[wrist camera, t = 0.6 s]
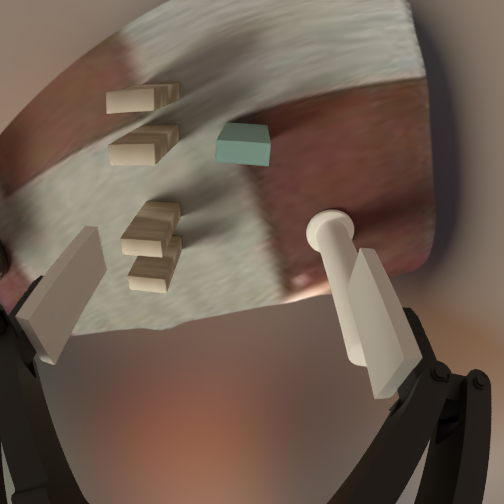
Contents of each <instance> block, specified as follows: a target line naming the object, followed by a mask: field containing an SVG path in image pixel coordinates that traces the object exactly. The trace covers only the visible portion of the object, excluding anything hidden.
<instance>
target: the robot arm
mask: <svg viewBox="0 0 504 504" xmlns="http://www.w3.org/2000/svg"><path fill="white" fill-rule="evenodd" d="M7 270H8V261H7V256H6V253H5V250H4V248H3V246H2V244H1V242H0V280H1V279H2V278H3V277H4V275H5V274H6V273H7ZM106 271H107V268H106V264H105V260H104V255H103V251H102V246H101V242H100V237H99V232H98V227H91V226H85V227H84V228H83V229H82V231H81V232H80V233H79V234H78V235H77V236H76V237H75V239H74V240H73V241H72V242H71V243H70V244H69V246H68V247H67V248H66V249H65V250H64V252H63V253H62V254H61V255H60V257H59V258H58V259H57V260H56V261H55V263H54V264H53V265H52V266H51V268H50V269H49V270H48V272H47V273H46V274H45V275H44V276H40V277H39V278H37V279H36V280H35V281H33V282H32V284H31V285H30V286H29V288H28V289H27V291H26V292H25V293H24V295H23V297H21V299H20V300H19V301H18V303H17V304H16V306H15V307H14V309H13V310H12V311H11V313H10V314H9V316H8V315H7V313H6V312H5V310H4V308H3V306H2V305H1V304H0V504H7V498H6V491H5V484H4V477H3V467H2V454H1V442H2V446H3V450H4V454H5V458H6V461H7V465H8V468H9V471H10V474H11V477H12V481H13V483H14V487H15V493H14V494H13V495H12V497H11V501H12V504H89V503H88V502H87V501H86V499H85V498H84V496H83V494H82V492H81V490H80V489H79V486H78V484H77V482H76V480H75V478H74V476H73V474H72V471H71V469H70V467H69V464H68V462H67V460H66V457H65V455H64V452H63V450H62V447H61V445H60V442H59V439H58V437H57V434H56V431H55V428H54V425H53V422H52V419H51V416H50V413H49V410H48V407H47V403H46V400H45V396H44V393H43V389H42V385H41V382H40V377H39V373H38V369H37V364H36V362H35V360H34V356H35V354H36V353H37V354H38V356H39V357H40V359H41V360H42V361H44V362H47V363H50V364H53V365H55V363H56V361H57V359H58V357H59V355H60V353H61V351H62V349H63V347H64V345H65V343H66V342H67V339H68V338H69V336H70V334H71V332H72V330H73V328H74V326H75V324H76V323H77V321H78V319H79V317H80V315H81V313H82V312H83V310H84V308H85V306H86V305H87V303H88V301H89V299H90V298H91V296H92V294H93V293H94V291H95V289H96V287H97V286H98V284H99V282H100V281H101V279H102V277H103V276H104V274H105V273H106ZM346 292H347V295H348V299H349V302H350V305H351V309H352V312H353V316H354V319H355V323H356V326H357V330H358V334H359V337H360V341H361V345H362V349H363V353H364V357H365V361H366V365H367V368H368V372H369V377H370V381H371V385H372V390H373V394H374V399H382V398H391V397H392V396H393V395H394V393H395V392H396V391H397V390H398V394H399V399H398V400H397V401H396V402H395V404H394V405H393V406H392V407H391V408H390V409H389V411H391V412H390V413H389V415H388V417H387V419H386V421H385V422H384V424H383V425H382V427H381V429H380V430H379V432H378V434H377V435H376V437H375V438H374V440H373V441H372V443H371V445H370V446H369V448H368V449H367V451H366V452H365V454H364V455H363V457H362V458H361V460H360V461H359V462H358V464H357V465H356V467H355V468H354V469H353V471H352V472H351V474H350V475H349V476H348V478H347V479H346V480H345V481H344V483H343V484H342V485H341V487H340V488H339V489H338V491H337V492H336V493H335V494H334V496H333V497H332V498H331V499H330V500H329V502H328V503H327V504H395V503H396V502H397V500H398V499H399V497H400V495H401V493H402V492H403V490H404V489H405V487H406V485H407V483H408V481H409V480H410V478H411V476H412V474H413V472H414V470H415V468H416V466H417V465H418V463H419V461H420V459H421V457H422V455H423V453H424V450H425V448H426V446H427V444H428V442H429V440H430V443H429V448H428V453H427V458H426V463H425V466H424V470H423V474H422V478H421V482H420V486H419V489H418V493H417V496H416V499H415V502H414V504H482V501H483V495H484V490H485V483H486V477H487V469H488V460H489V451H490V437H491V383H490V380H489V378H488V376H487V375H486V374H485V373H484V372H482V371H481V370H477V369H474V370H471V371H470V372H469V374H468V375H467V376H462V375H457V374H453V373H451V371H450V369H449V368H448V367H447V366H446V365H445V364H444V363H442V362H440V361H437V360H436V357H435V355H434V352H433V350H432V348H431V345H430V343H429V340H428V338H427V336H426V334H425V331H424V329H423V327H422V325H421V322H420V320H419V318H418V316H417V315H416V314H415V313H414V311H412V309H411V308H402V306H401V304H400V302H399V300H398V298H397V295H396V293H395V291H394V289H393V287H392V285H391V282H390V280H389V278H388V276H387V274H386V272H385V270H384V268H383V266H382V264H381V262H380V260H379V258H378V256H377V254H376V252H375V250H374V249H367V248H360V250H359V253H358V257H357V260H356V263H355V266H354V269H353V272H352V275H351V278H350V281H349V284H348V287H347V290H346ZM430 437H431V438H430Z"/></svg>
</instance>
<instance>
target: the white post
mask: <svg viewBox="0 0 504 504" xmlns="http://www.w3.org/2000/svg"><path fill="white" fill-rule="evenodd" d="M353 235H354V225H353V222H352V220H351V218H350V217H349V216H348V215H347V214H346V213H344V212H342V211H340V210H335V209H330V210H325V211H322V212H320V213H318V214H317V215H315V216H314V217H313V218H312V219H311V221H310V222H309V224H308V226H307V230H306V236H307V240H308V242H309V244H310V246H311V247H312V248H313V249H315V250H316V251H318V252H321V256H322V259H323V263H324V266H325V270H326V273H327V277H328V280H329V284H330V287H331V291H332V295H333V298H334V302H335V306H336V310H337V314H338V317H339V321H340V325H341V329H342V333H343V337H344V341H345V346H346V350H347V354H348V358H349V360H350V361H351V362H352V363H354V364H355V365H359V366H366V367H367V365H366V361H365V357H364V353H363V349H362V345H361V341H360V337H359V334H358V330H357V326H356V323H355V319H354V316H353V312H352V309H351V305H350V302H349V299H348V295H347V292H346V290H347V287H348V284H349V281H350V278H351V275H352V272H353V269H354V266H355V263H356V260H357V257H358V253H357V251H356V249H355V247H354V245H353V242H352V238H353Z"/></svg>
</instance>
